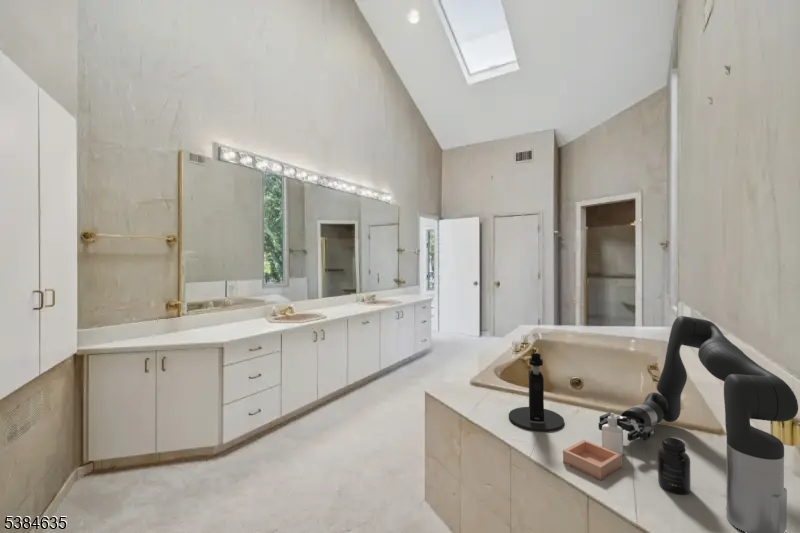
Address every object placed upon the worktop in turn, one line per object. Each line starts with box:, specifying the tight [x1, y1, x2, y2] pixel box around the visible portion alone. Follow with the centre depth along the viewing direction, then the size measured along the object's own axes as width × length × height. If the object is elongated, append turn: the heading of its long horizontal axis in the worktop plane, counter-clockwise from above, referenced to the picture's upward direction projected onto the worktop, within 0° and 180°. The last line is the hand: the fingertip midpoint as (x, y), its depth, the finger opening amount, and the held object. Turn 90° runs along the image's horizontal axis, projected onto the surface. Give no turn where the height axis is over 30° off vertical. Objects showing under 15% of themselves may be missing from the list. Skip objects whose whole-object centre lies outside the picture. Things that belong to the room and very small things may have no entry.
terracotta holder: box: [562, 439, 622, 481], centre depth 110 cm, size 11×11×4 cm
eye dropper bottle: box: [601, 412, 624, 456], centre depth 116 cm, size 4×6×12 cm
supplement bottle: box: [657, 436, 692, 495], centre depth 98 cm, size 7×7×12 cm
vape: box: [508, 352, 565, 433], centre depth 139 cm, size 19×19×25 cm
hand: (614, 432), depth 116 cm, fingers open, 8 cm apart
